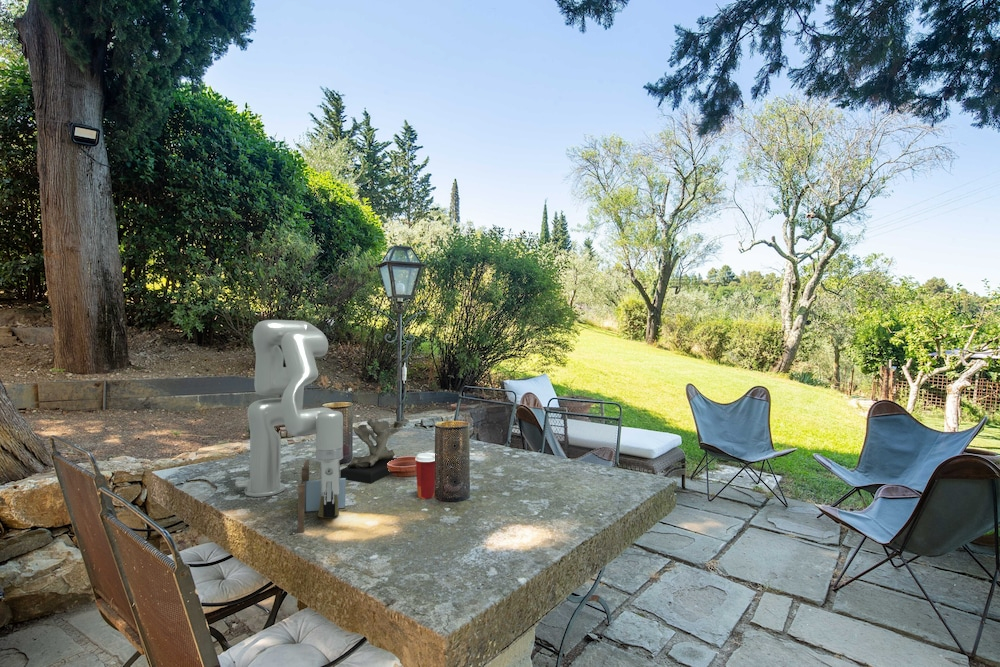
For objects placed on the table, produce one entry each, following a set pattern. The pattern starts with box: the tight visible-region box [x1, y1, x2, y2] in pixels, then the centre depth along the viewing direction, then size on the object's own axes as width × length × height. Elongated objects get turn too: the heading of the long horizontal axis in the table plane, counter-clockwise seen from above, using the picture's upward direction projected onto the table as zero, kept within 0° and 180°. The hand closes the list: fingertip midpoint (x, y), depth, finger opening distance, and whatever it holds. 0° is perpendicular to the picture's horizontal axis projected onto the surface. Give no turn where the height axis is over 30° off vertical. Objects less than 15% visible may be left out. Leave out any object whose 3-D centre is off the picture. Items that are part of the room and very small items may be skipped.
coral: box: [340, 418, 410, 485], centre depth 187 cm, size 25×20×22 cm
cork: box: [317, 482, 340, 518], centre depth 144 cm, size 6×6×11 cm
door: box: [303, 478, 347, 513], centre depth 148 cm, size 1×12×9 cm, turn 109°
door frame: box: [297, 459, 310, 534], centre depth 145 cm, size 2×27×13 cm, turn 19°
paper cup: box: [414, 452, 436, 500], centre depth 162 cm, size 8×8×14 cm
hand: (329, 516), depth 139 cm, fingers closed
